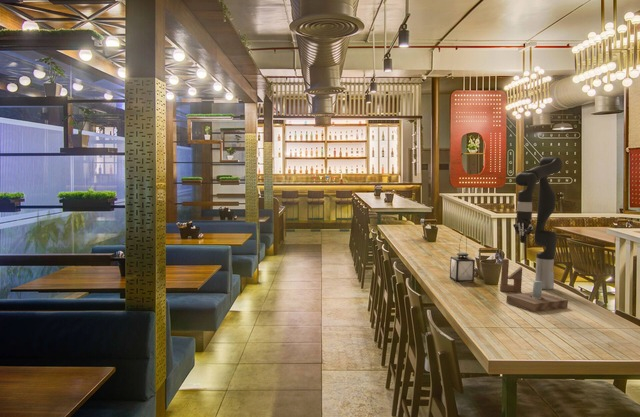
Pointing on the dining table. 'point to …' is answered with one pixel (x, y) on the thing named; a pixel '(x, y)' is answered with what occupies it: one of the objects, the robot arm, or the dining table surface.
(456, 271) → the lantern
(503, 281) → the brown wedge-headed part
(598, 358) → the dining table surface
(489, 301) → the dining table surface
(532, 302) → the socket block
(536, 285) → the peg
